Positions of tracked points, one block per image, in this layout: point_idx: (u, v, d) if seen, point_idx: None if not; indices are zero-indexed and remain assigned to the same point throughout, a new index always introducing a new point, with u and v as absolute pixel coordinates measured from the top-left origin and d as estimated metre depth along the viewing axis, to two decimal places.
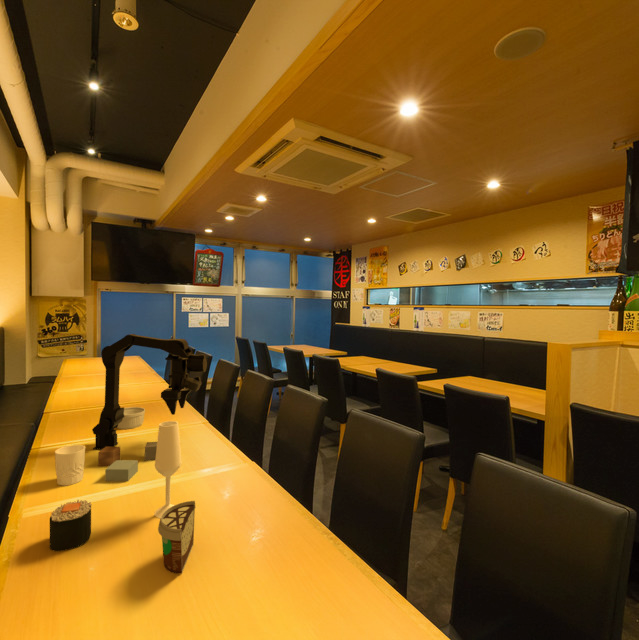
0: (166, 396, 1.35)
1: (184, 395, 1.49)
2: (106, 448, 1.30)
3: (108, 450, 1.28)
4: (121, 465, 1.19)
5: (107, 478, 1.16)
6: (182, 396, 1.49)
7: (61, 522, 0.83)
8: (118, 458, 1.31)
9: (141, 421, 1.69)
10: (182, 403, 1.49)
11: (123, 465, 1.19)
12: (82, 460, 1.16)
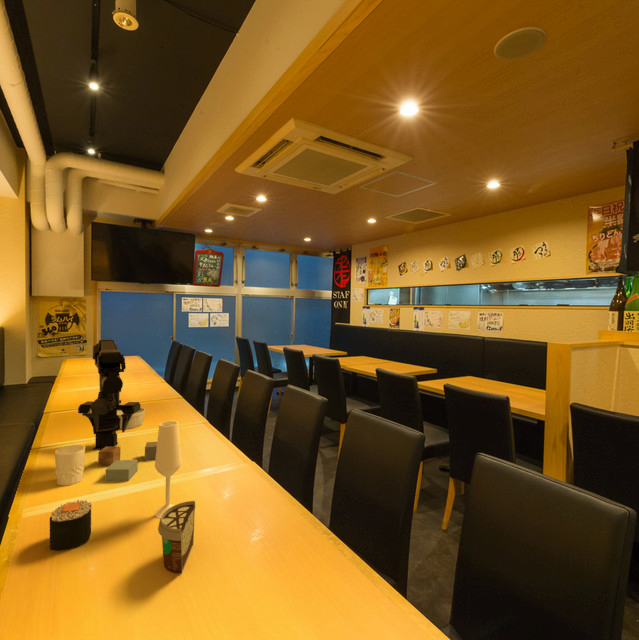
0: None
1: None
2: (106, 448, 1.30)
3: (108, 450, 1.28)
4: (121, 465, 1.19)
5: (107, 478, 1.16)
6: None
7: (61, 522, 0.83)
8: (118, 458, 1.31)
9: (141, 421, 1.69)
10: None
11: (124, 465, 1.19)
12: (82, 460, 1.16)
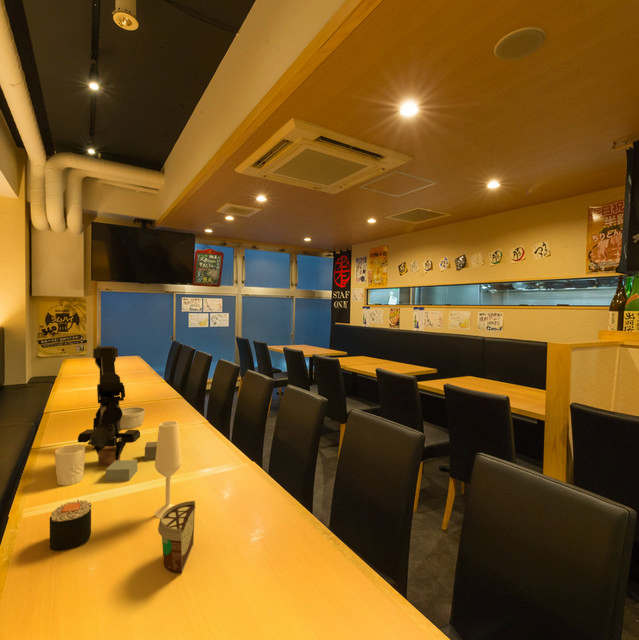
0: None
1: None
2: (106, 448, 1.30)
3: (108, 450, 1.28)
4: (122, 465, 1.19)
5: (107, 478, 1.16)
6: None
7: (61, 522, 0.83)
8: None
9: (141, 421, 1.69)
10: None
11: (124, 465, 1.19)
12: (82, 460, 1.16)
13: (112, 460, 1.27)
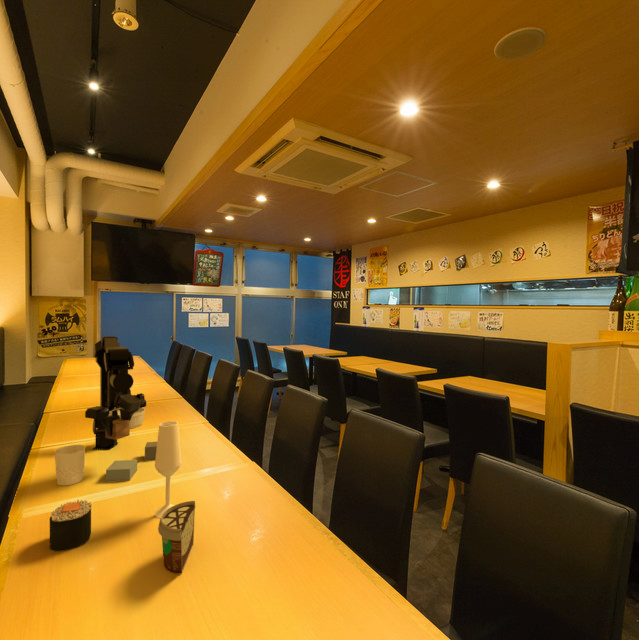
0: (88, 415, 1.14)
1: (126, 416, 1.25)
2: None
3: (120, 421, 1.22)
4: (122, 465, 1.19)
5: (108, 478, 1.16)
6: (125, 417, 1.25)
7: (61, 522, 0.83)
8: None
9: (141, 421, 1.69)
10: None
11: (124, 465, 1.19)
12: (82, 460, 1.16)
13: (128, 429, 1.24)
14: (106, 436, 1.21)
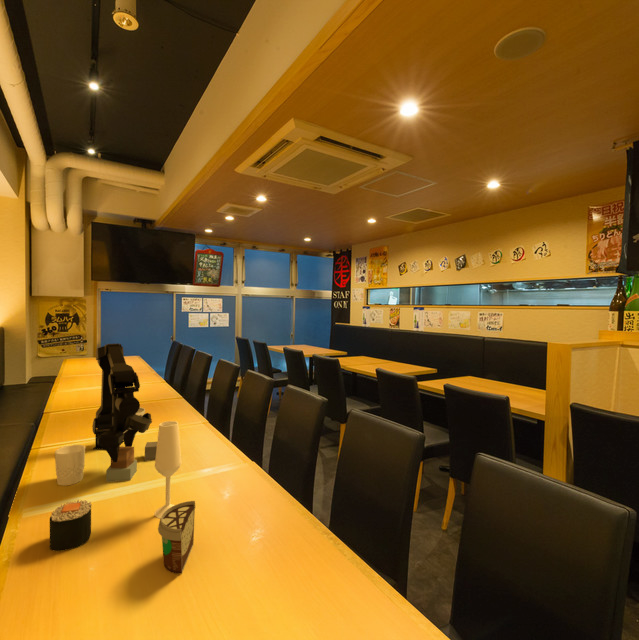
0: (104, 442, 1.10)
1: (131, 436, 1.24)
2: None
3: (126, 449, 1.20)
4: None
5: (108, 479, 1.16)
6: (129, 437, 1.24)
7: (61, 522, 0.83)
8: None
9: None
10: (129, 445, 1.24)
11: None
12: (82, 460, 1.16)
13: (133, 456, 1.22)
14: (112, 466, 1.17)
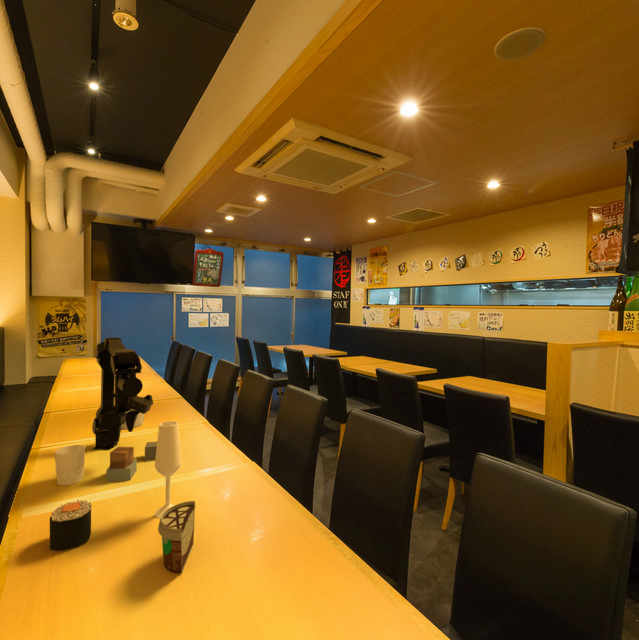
0: (106, 421, 1.12)
1: (133, 417, 1.27)
2: (117, 451, 1.18)
3: (126, 449, 1.20)
4: None
5: (108, 479, 1.16)
6: (130, 418, 1.26)
7: (61, 522, 0.83)
8: None
9: (141, 421, 1.69)
10: (130, 426, 1.26)
11: None
12: (82, 460, 1.16)
13: (133, 456, 1.22)
14: (111, 466, 1.17)
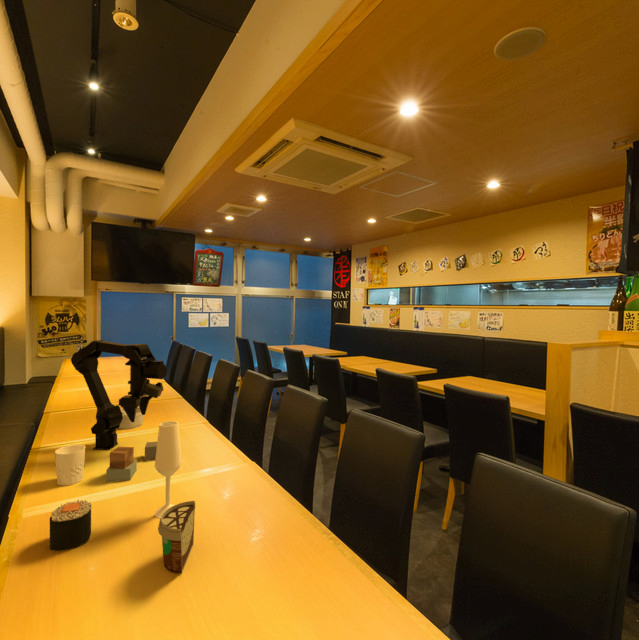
0: (124, 403, 1.31)
1: (145, 402, 1.45)
2: (117, 451, 1.18)
3: (125, 449, 1.20)
4: None
5: (108, 479, 1.16)
6: (143, 403, 1.45)
7: (61, 522, 0.83)
8: None
9: (141, 421, 1.69)
10: (143, 410, 1.45)
11: None
12: (82, 460, 1.16)
13: (132, 456, 1.22)
14: (111, 466, 1.17)
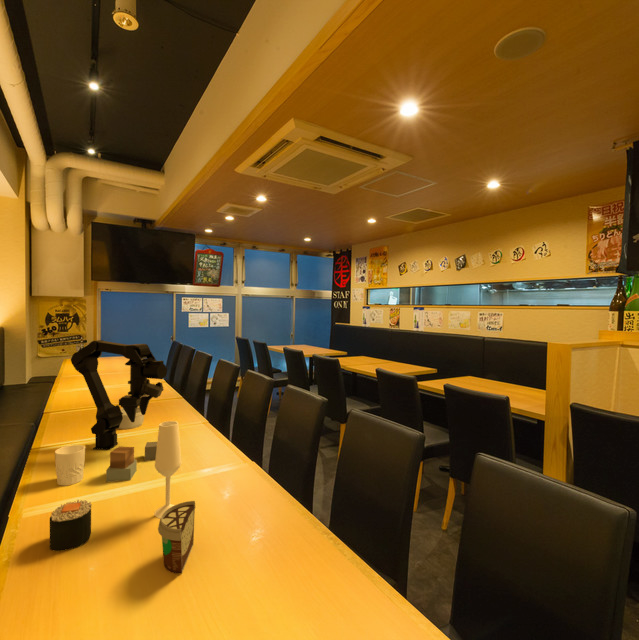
0: (124, 403, 1.31)
1: (145, 402, 1.45)
2: (117, 451, 1.18)
3: (126, 449, 1.20)
4: None
5: (108, 479, 1.16)
6: (143, 402, 1.45)
7: (61, 522, 0.83)
8: None
9: (141, 421, 1.69)
10: (143, 410, 1.45)
11: None
12: (82, 460, 1.16)
13: (133, 456, 1.22)
14: (111, 466, 1.17)
